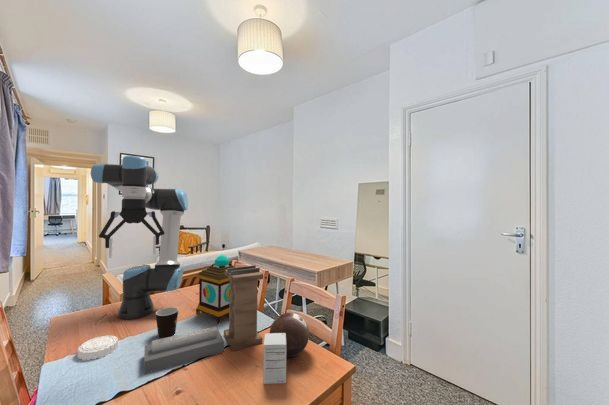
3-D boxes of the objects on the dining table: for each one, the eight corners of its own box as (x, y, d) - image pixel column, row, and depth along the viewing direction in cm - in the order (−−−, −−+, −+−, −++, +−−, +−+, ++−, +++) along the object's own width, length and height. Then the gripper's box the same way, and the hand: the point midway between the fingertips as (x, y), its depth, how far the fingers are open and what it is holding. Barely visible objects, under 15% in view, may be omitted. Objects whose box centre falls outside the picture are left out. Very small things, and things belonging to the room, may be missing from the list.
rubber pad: (144, 356, 95) (144, 345, 95) (217, 338, 109) (217, 328, 109) (144, 373, 86) (144, 361, 86) (223, 351, 99) (224, 340, 99)
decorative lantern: (249, 311, 135) (250, 254, 135) (218, 326, 119) (219, 261, 119) (223, 302, 146) (224, 249, 146) (191, 315, 129) (192, 255, 129)
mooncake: (121, 351, 98) (121, 342, 98) (79, 365, 90) (79, 355, 90) (114, 339, 107) (114, 330, 107) (75, 351, 98) (75, 341, 98)
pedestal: (223, 334, 111) (224, 266, 111) (250, 328, 118) (251, 263, 118) (232, 351, 99) (234, 274, 99) (262, 342, 106) (263, 270, 106)
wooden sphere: (312, 364, 92) (312, 322, 92) (269, 368, 90) (270, 324, 90) (305, 341, 107) (305, 305, 107) (268, 344, 105) (269, 307, 105)
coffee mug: (168, 341, 106) (168, 316, 106) (150, 338, 108) (150, 314, 107) (186, 327, 117) (187, 305, 117) (170, 325, 119) (170, 303, 119)
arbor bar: (151, 349, 93) (151, 340, 93) (215, 333, 104) (215, 326, 104) (151, 353, 90) (152, 344, 90) (217, 337, 102) (217, 329, 102)
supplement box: (264, 369, 89) (264, 332, 89) (285, 368, 90) (286, 332, 90) (262, 384, 82) (263, 344, 82) (286, 383, 82) (286, 344, 82)
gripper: (89, 197, 87) (88, 260, 87) (172, 198, 100) (171, 253, 100) (93, 197, 94) (92, 256, 94) (170, 198, 106) (170, 250, 107)
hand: (133, 255), depth 97 cm, fingers open, 13 cm apart
